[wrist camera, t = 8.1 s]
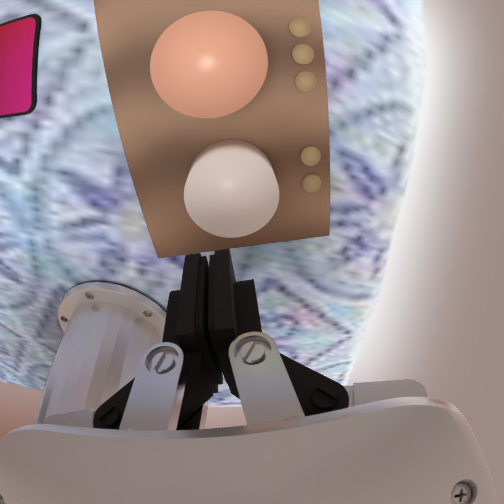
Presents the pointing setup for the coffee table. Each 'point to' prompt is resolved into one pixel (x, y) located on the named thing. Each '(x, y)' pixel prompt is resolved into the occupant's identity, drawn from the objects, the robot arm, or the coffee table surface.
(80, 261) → the coffee table surface
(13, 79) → the smartphone
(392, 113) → the coffee table surface
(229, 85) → the terracotta button
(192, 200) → the off-white button
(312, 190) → the button board
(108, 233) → the coffee table surface
